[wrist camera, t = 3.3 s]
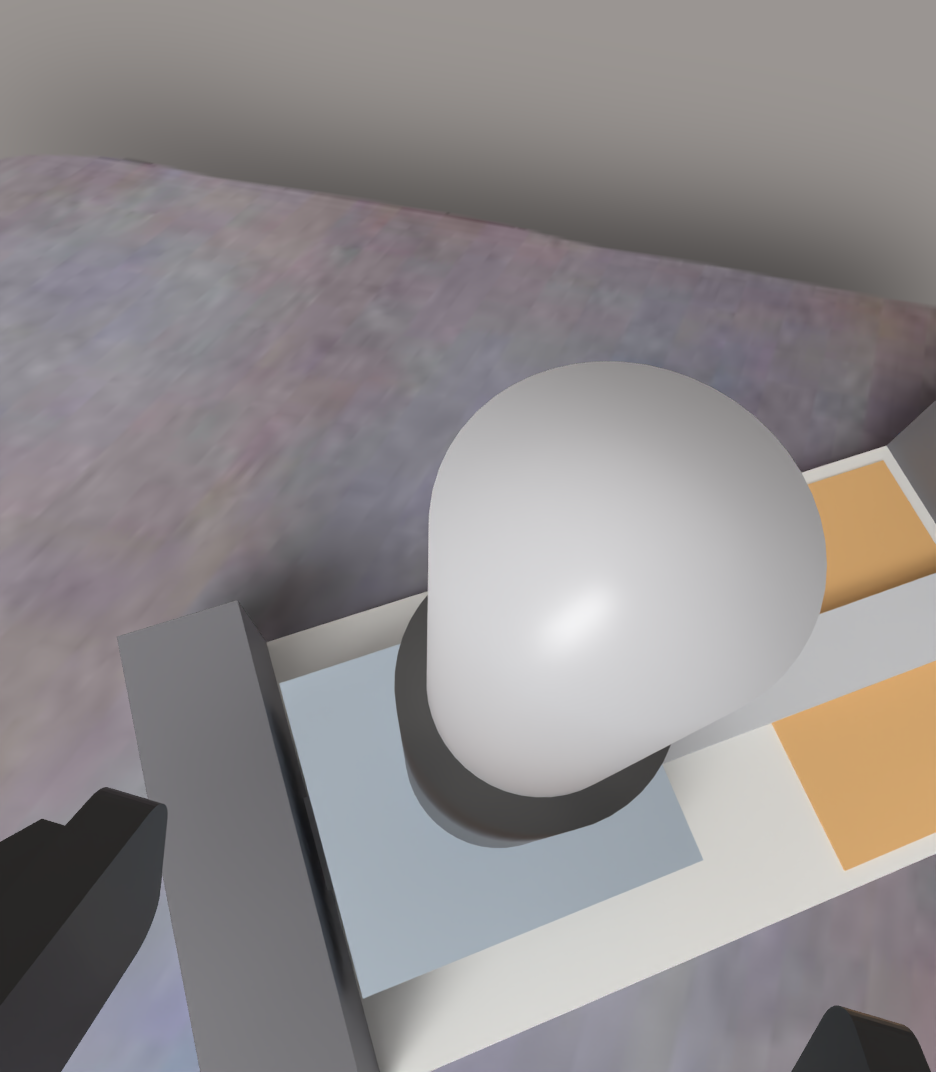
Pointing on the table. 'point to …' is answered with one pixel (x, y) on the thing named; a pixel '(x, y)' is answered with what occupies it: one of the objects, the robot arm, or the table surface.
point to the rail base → (594, 932)
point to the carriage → (556, 662)
